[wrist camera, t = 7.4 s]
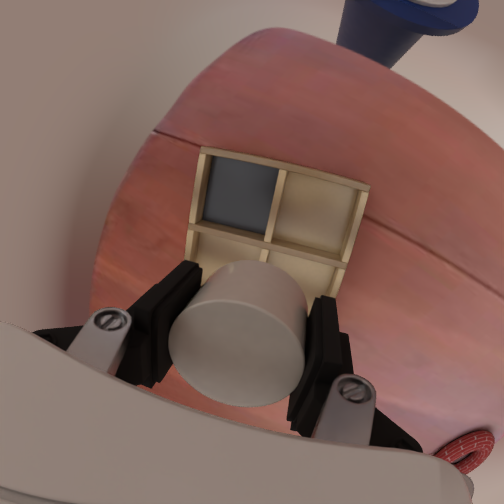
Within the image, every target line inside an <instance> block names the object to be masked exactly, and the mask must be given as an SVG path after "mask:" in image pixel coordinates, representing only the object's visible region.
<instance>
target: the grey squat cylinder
mask: <svg viewBox="0 0 504 504" xmlns="http://www.w3.org/2000/svg"><path fill="white" fill-rule="evenodd" d="M307 330H308V305H307V300H306V298H305V295H304V293H303V291H302V289H301V288H300V286H299V285H298V283H297V282H296V281H295V280H294V279H293V278H292V277H291V276H290V275H289V274H287V273H286V272H285V271H283V270H281V269H280V268H278V267H276V266H274V265H272V264H268V263H265V262H261V261H256V260H240V261H235V262H231V263H228V264H226V265H224V266H222V267H220V268H218V269H217V270H216V271H214V272H213V273H212V274H211V275H210V276H209V277H208V279H207V280H206V281H205V282H204V284H203V285H202V286H201V287H200V289H199V290H198V291H197V292H196V294H195V295H194V296H193V297H192V299H191V300H190V301H189V302H188V304H187V305H186V306H185V307H184V309H183V310H182V311H181V313H180V314H179V315H178V316H177V318H176V319H175V320H174V322H173V324H172V326H171V328H170V332H169V340H168V348H169V353H170V356H171V359H172V362H173V364H174V366H175V368H176V369H177V371H178V372H179V374H180V375H181V376H182V377H183V378H184V380H185V381H186V382H187V383H188V384H189V385H191V386H192V387H193V388H194V389H196V390H197V391H198V392H200V393H201V394H203V395H205V396H207V397H209V398H211V399H213V400H215V401H218V402H221V403H224V404H228V405H232V406H238V407H260V406H266V405H270V404H273V403H276V402H278V401H280V400H282V399H284V398H285V397H287V396H288V395H290V394H291V393H292V392H293V391H294V390H295V389H296V387H297V386H298V384H299V381H300V379H301V377H302V374H303V372H304V369H305V363H306V348H307Z"/></svg>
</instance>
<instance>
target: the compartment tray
mask: <svg viewBox="0 0 504 504" xmlns="http://www.w3.org/2000/svg"><path fill="white" fill-rule="evenodd" d="M370 187H371V186H370V185H369V184H367V183H364V182H361V181H358V180H354V179H351V178H348V177H344V176H340V175H337V174H333V173H330V172H326V171H322V170H318V169H314V168H310V167H306V166H302V165H298V164H294V163H290V162H286V161H281V160H277V159H272V158H268V157H263V156H258V155H253V154H248V153H243V152H238V151H232V150H227V149H221V148H215V147H208V146H201V148H200V154H199V160H198V165H197V171H196V177H195V184H194V190H193V197H192V203H191V210H190V217H189V225H188V232H187V240H186V248H185V256H184V260H188V261H192V262H196V263H198V264H199V267H201V268H202V269H203V273H202V281H201V286H202V285H203V284H204V282H205V281H206V280H207V279H208V277H209V276H210V275H211V274H212V273H213V272H214V271H216V270H217V269H218V268H220V267H222V266H224V265H226V264H228V263H231V262H235V261H240V260H256V261H261V262H265V263H268V264H272V265H274V266H276V267H278V268H280V269H281V270H283V271H285V272H286V273H287V274H289V275H290V276H291V277H292V278H293V279H294V280H295V281H296V282H297V283H298V285H299V286H300V288H301V289H302V291H303V293H304V295H305V298H306V300H307V305H308V317H309V314H310V311H311V308H312V305H313V302H314V299H315V297H317V298H320V296H321V295H325V296H329V297H333V298H335V299H336V296H337V293H338V290H339V288H340V285H341V282H342V279H343V276H344V273H345V269H346V267H347V264H348V261H349V258H350V255H351V252H352V249H353V246H354V243H355V240H356V236H357V233H358V230H359V226H360V223H361V220H362V216H363V213H364V209H365V206H366V202H367V198H368V195H369V193H368V192H369V191H370Z"/></svg>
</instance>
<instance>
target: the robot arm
mask: <svg viewBox="0 0 504 504" xmlns="http://www.w3.org/2000/svg"><path fill="white" fill-rule="evenodd" d="M408 1H411V2H413V3H416V4H419V5H423V6H428V7H439V8H441V7H447V6H449V5H451V4H453V3H454V2H456V1H457V0H408ZM202 273H203V269H202V268H201V267H199V264H198V263H196V262H192V261H188V260H184V261H183V262H182V263H180V264H179V265H178V266H177V267H176V268H175V269H174V270H173V271H172V272H170V273H169V274H168V275H167V276H166V277H165V278H164V279H163V280H162V281H160V282H159V283H158V284H155V285H154V286H153V287H152V288H150V289H149V290H148V291H147V292H146V293H145V294H144V295H143V296H142V297H140V298H139V299H138V300H137V301H136V302H135V303H134V304H133V305H132V306H131V307H130V308H129V309H127V310H126V311H125V310H123V309H120V308H115V307H106V308H102V309H99V310H97V311H95V312H94V313H93V314H92V315H91V316H90V318H89V319H88V320H87V322H86V323H85V325H84V326H74V327H65V328H54V329H42V330H38V331H35V332H30V331H27V330H25V329H23V328H21V327H18V326H16V325H13V324H10V323H6V322H1V321H0V504H473V503H472V496H473V493H474V485H473V482H472V480H471V479H470V478H469V477H468V476H467V475H466V474H464V473H462V472H460V471H459V470H458V469H457V468H456V467H455V466H454V465H452V464H451V463H449V462H447V461H445V460H443V459H441V458H438V457H435V456H432V455H429V454H425V453H423V450H422V448H421V446H420V444H419V443H418V442H417V441H416V440H415V439H414V438H413V437H411V436H410V435H409V434H408V433H406V432H405V431H404V430H403V429H401V428H400V427H399V426H398V425H396V424H395V423H394V422H393V421H391V420H390V419H389V418H388V417H387V416H385V415H384V414H383V413H382V412H380V411H379V410H378V409H377V408H376V407H375V403H376V391H375V388H374V386H373V385H372V384H371V383H370V382H369V381H368V380H366V379H365V378H363V377H361V376H359V375H355V374H354V372H353V364H352V357H351V349H350V343H349V336H348V334H346V333H342V332H339V323H338V315H337V307H336V299H335V298H333V297H329V296H325V295H321V296H320V298H317V297H315V299H314V302H313V305H312V308H311V311H310V314H309V317H308V330H307V348H306V363H305V369H304V372H303V374H302V377H301V379H300V381H299V384H298V386H297V387H296V389H295V390H294V391H293V392H292V393H291V394H290V399H289V406H288V412H287V421H291V429H290V430H293V431H297V432H298V433H299V434H300V435H301V436H296V435H291V434H286V433H281V432H276V431H272V430H267V429H263V428H259V427H255V426H251V425H247V424H243V423H239V422H236V421H232V420H228V419H225V418H222V417H218V416H215V415H212V414H209V413H205V412H202V411H199V410H196V409H193V408H190V407H187V406H185V405H182V404H179V403H176V402H174V401H171V400H168V399H166V398H163V397H161V396H158V395H156V394H153V393H151V392H148V391H146V390H143V389H141V388H139V387H137V385H140V384H141V385H144V386H146V387H149V388H151V389H152V387H153V386H154V384H155V383H156V382H158V383H160V382H161V381H162V380H163V378H164V376H165V375H166V373H167V372H168V370H169V369H170V367H171V366H172V364H173V362H172V359H171V356H170V353H169V348H168V340H169V332H170V328H171V326H172V324H173V322H174V320H175V319H176V318H177V316H178V315H179V314H180V313H181V311H182V310H183V309H184V307H185V306H186V305H187V304H188V302H189V301H190V300H191V299H192V297H193V296H194V295H195V294H196V292H197V291H198V290H199V289H200V287H201V281H202Z"/></svg>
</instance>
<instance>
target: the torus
mask: <svg viewBox="0 0 504 504" xmlns="http://www.w3.org/2000/svg"><path fill="white" fill-rule="evenodd" d="M494 441H495V440H494V436H493V434H492V433H490V432H488V431H476V432H472V433H469V434H467V435H465V436H462V437H460V438H458V439H457V440H455V441H453V442H451V443H450V444H448V445H447V446H445V447H444V448H443V449H441V450H440V451H439V452H438V453H437V454H436V455H435V457H438V458H441V459H443V460H445V461H447V462H449V463H452V462H453V461H455V460H456V459H458V458H460V457H462V456H464V455H466V454H468V453H470V452H473V451H474V452H473V453H472V454H471V455H469V456H468V457H467V458H465V459H464V460H462V461H461V462H459V463H457V464H454V466H455V467H456V468H457V469H458V470H459V471H460V472H462V473H464V474H468V473H469V472H471V471H472V470H474V469H475V468H477V467H478V466H479V465H480V464H481V463H482V462H483V461H484V460H485V459H486V458H487V457H488V456H489V454H490V453H491V451H492V449H493V446H494Z"/></svg>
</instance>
